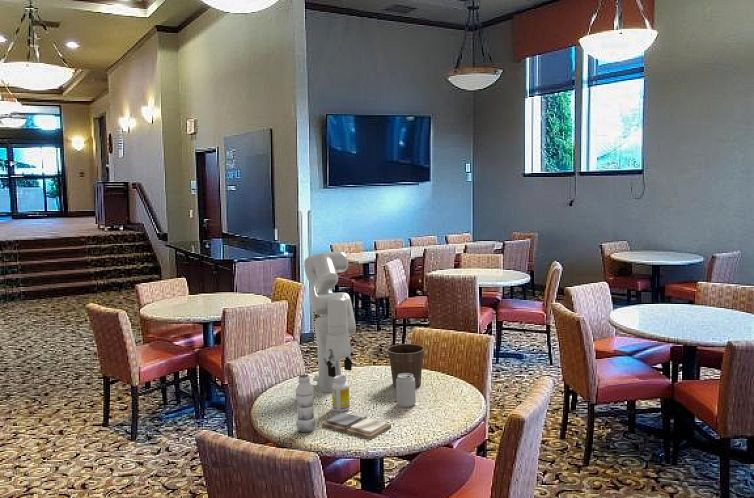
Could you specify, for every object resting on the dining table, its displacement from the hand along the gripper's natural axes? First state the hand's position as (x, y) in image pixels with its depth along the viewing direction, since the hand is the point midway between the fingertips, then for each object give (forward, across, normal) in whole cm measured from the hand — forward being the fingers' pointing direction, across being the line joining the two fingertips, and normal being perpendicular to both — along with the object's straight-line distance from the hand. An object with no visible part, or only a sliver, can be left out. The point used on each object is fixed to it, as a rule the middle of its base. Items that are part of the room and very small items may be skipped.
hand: (340, 373), depth 238 cm
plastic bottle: (+15, +22, +2) cm, 27 cm away
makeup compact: (+15, +10, +15) cm, 24 cm away
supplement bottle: (+15, -1, -1) cm, 15 cm away
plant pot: (+14, -38, +5) cm, 41 cm away
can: (+15, -18, +18) cm, 29 cm away
